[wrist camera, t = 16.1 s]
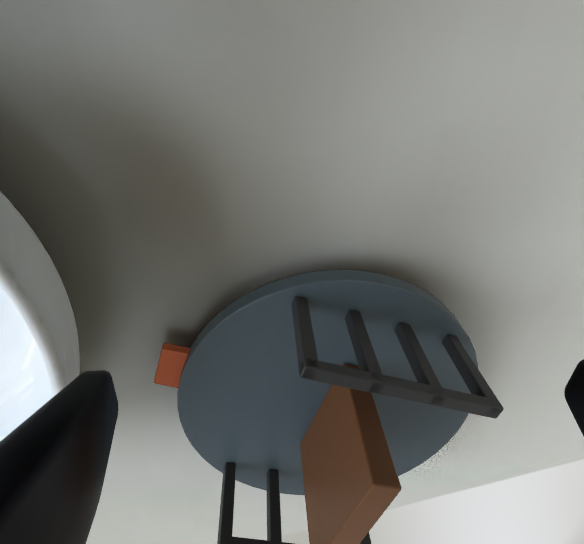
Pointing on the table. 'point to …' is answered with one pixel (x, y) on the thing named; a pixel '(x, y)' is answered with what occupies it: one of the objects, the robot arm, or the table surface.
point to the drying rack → (325, 395)
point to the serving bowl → (31, 323)
